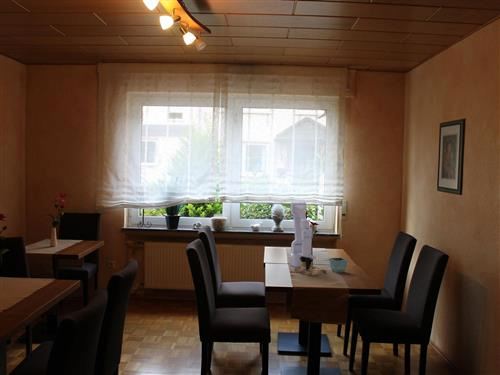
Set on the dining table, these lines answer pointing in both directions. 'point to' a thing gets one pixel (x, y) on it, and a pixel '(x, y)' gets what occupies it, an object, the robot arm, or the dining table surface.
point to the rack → (308, 272)
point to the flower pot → (338, 264)
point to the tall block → (303, 266)
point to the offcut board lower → (317, 273)
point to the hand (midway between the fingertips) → (306, 268)
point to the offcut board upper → (315, 270)
